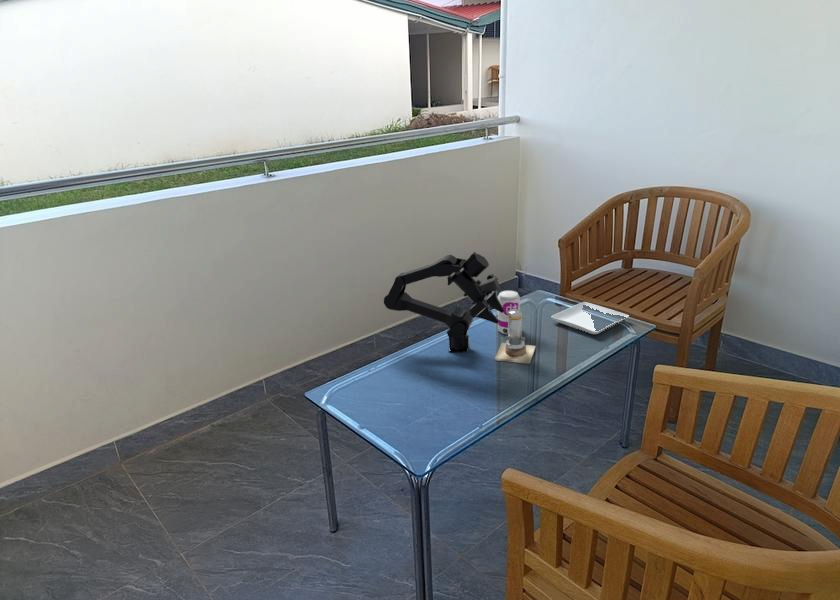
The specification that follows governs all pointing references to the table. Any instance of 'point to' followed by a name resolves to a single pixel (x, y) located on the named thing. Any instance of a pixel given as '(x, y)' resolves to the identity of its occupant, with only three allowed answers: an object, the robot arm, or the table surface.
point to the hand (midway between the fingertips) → (500, 317)
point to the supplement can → (507, 308)
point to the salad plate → (583, 317)
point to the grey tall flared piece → (515, 330)
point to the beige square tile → (515, 354)
